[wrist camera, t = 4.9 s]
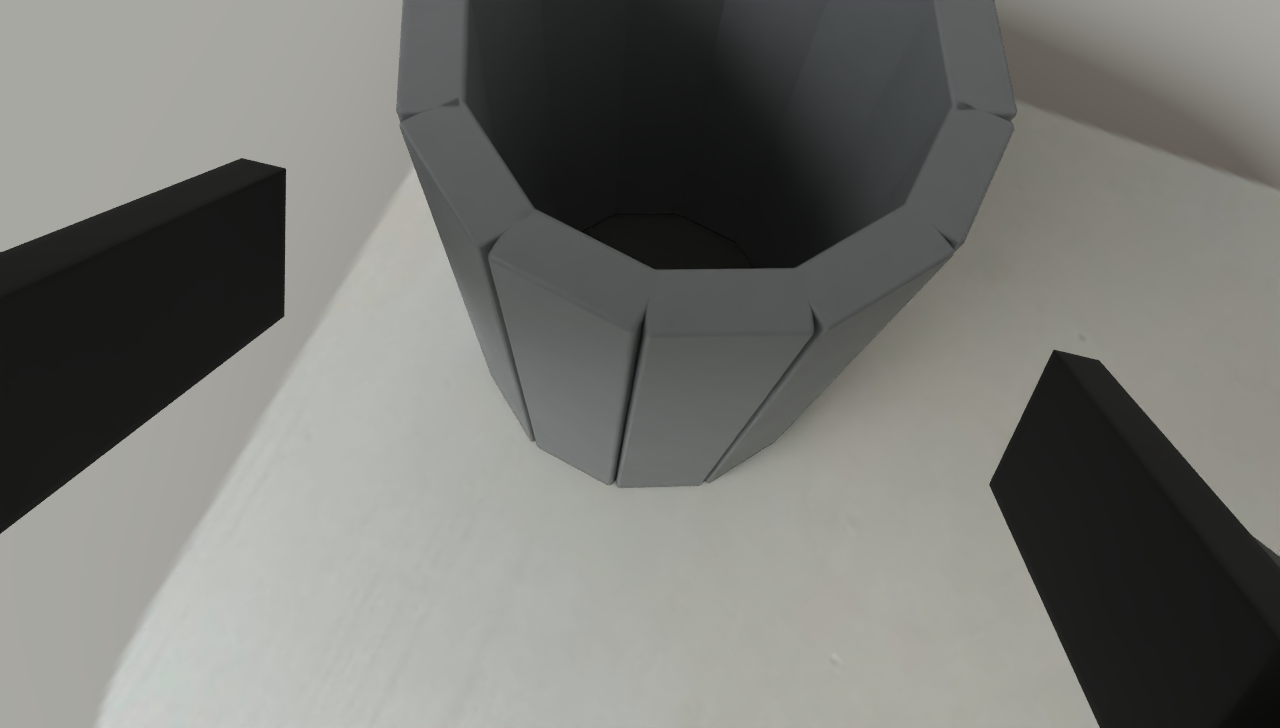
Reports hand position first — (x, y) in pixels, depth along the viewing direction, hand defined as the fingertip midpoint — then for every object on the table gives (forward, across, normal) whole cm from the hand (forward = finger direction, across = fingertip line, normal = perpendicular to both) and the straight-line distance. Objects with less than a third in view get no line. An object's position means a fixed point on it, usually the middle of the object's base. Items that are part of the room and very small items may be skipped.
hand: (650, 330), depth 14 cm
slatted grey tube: (+9, 0, -4) cm, 10 cm away
